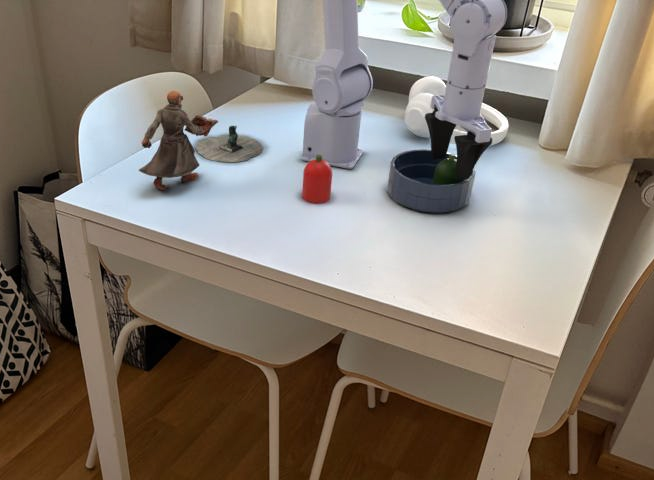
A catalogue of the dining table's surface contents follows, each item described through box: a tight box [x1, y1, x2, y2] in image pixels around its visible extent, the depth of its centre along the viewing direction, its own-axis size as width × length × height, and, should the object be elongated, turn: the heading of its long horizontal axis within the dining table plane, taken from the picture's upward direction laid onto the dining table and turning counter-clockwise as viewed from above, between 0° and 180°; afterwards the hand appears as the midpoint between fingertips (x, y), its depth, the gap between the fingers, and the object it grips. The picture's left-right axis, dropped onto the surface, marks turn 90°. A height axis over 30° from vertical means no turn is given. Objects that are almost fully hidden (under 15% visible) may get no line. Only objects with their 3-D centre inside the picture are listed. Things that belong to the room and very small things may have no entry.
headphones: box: [404, 75, 510, 146], centre depth 144 cm, size 20×8×20 cm
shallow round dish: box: [386, 148, 477, 214], centre depth 122 cm, size 14×14×5 cm
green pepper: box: [433, 153, 463, 185], centre depth 121 cm, size 5×5×7 cm
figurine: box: [138, 90, 219, 191], centre depth 118 cm, size 14×7×15 cm, turn 110°
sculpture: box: [194, 125, 265, 163], centre depth 135 cm, size 12×9×8 cm
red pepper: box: [301, 155, 333, 204], centre depth 119 cm, size 5×5×7 cm
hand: (449, 168), depth 120 cm, fingers open, 7 cm apart
